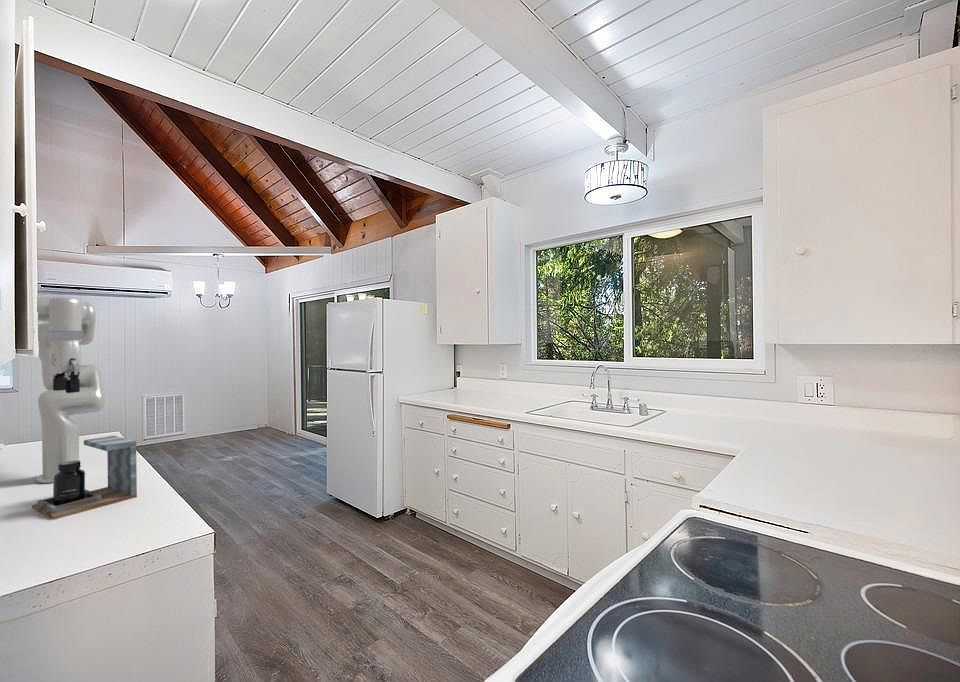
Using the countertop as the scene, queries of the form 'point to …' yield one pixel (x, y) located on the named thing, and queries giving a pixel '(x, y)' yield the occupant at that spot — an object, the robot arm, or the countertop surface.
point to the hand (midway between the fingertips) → (66, 391)
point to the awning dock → (119, 479)
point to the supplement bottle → (68, 483)
